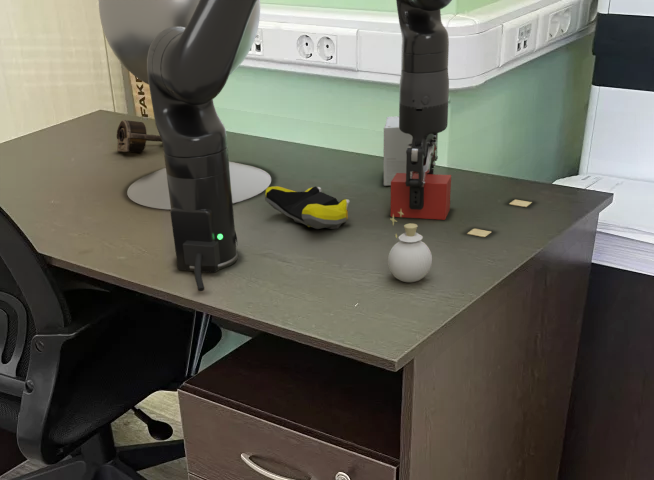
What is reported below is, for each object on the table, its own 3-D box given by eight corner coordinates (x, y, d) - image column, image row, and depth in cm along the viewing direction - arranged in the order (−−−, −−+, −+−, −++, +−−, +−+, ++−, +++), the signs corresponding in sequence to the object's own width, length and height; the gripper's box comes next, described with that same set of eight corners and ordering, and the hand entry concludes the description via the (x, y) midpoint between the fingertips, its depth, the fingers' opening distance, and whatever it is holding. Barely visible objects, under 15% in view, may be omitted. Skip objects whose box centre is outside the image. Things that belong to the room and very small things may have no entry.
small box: (414, 186, 155) (415, 126, 149) (382, 186, 156) (383, 127, 151) (416, 172, 162) (417, 115, 156) (386, 172, 163) (386, 115, 157)
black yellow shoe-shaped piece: (310, 243, 136) (361, 227, 140) (308, 209, 133) (361, 194, 137) (261, 217, 147) (309, 204, 151) (258, 186, 144) (308, 173, 148)
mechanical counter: (112, 122, 189) (108, 123, 180) (169, 110, 189) (168, 110, 180) (120, 155, 191) (116, 158, 182) (176, 144, 192) (175, 146, 182)
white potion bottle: (408, 293, 118) (409, 223, 113) (372, 276, 123) (372, 209, 118) (440, 280, 121) (443, 212, 115) (404, 265, 126) (405, 198, 121)
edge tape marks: (484, 237, 133) (484, 236, 133) (466, 233, 134) (466, 233, 134) (532, 202, 144) (532, 202, 144) (515, 200, 145) (515, 199, 145)
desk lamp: (223, 154, 181) (200, -92, 157) (300, 184, 161) (287, -93, 137) (103, 185, 169) (59, -77, 145) (170, 221, 149) (132, -76, 125)
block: (445, 219, 140) (446, 183, 137) (390, 216, 143) (390, 181, 140) (449, 210, 144) (451, 174, 140) (396, 207, 147) (396, 172, 143)
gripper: (408, 87, 140) (407, 184, 149) (389, 110, 129) (389, 214, 138) (455, 87, 138) (451, 186, 147) (440, 111, 127) (436, 216, 135)
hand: (421, 199), depth 142 cm, fingers open, 8 cm apart
